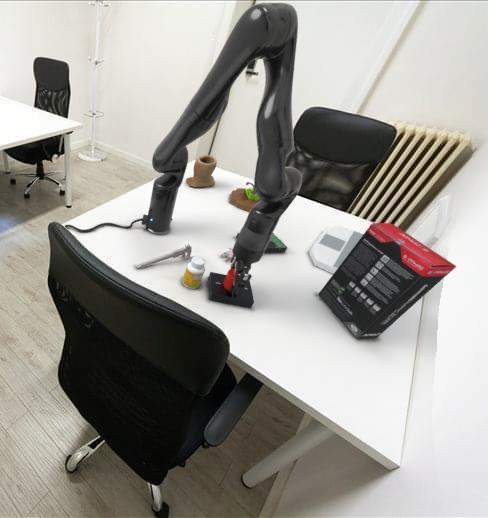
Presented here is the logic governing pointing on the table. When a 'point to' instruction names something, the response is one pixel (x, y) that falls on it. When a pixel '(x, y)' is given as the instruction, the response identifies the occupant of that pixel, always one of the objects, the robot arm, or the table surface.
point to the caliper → (168, 256)
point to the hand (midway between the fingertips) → (231, 285)
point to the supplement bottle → (194, 272)
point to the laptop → (343, 240)
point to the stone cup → (203, 172)
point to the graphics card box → (382, 279)
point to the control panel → (222, 294)
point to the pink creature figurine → (228, 254)
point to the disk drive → (274, 245)
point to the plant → (244, 198)
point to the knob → (229, 279)
